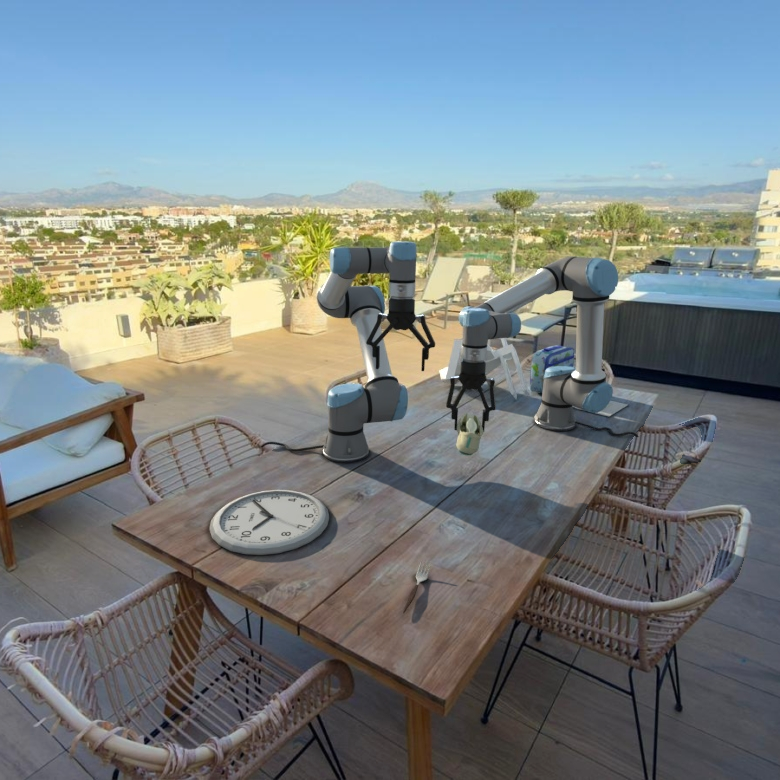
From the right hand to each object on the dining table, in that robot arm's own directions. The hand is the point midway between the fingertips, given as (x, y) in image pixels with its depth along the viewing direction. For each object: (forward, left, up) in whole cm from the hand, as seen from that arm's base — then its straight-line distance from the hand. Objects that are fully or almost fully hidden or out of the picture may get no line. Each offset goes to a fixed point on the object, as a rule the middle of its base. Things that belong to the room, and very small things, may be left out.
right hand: (469, 429), depth 166 cm
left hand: (+22, +7, +20) cm, 31 cm away
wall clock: (+51, +43, -12) cm, 68 cm away
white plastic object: (-7, -78, -12) cm, 80 cm away
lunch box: (-41, -87, -12) cm, 97 cm away
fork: (+12, +65, -12) cm, 67 cm away
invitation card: (-59, -66, -12) cm, 90 cm away
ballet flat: (0, +8, 0) cm, 8 cm away
